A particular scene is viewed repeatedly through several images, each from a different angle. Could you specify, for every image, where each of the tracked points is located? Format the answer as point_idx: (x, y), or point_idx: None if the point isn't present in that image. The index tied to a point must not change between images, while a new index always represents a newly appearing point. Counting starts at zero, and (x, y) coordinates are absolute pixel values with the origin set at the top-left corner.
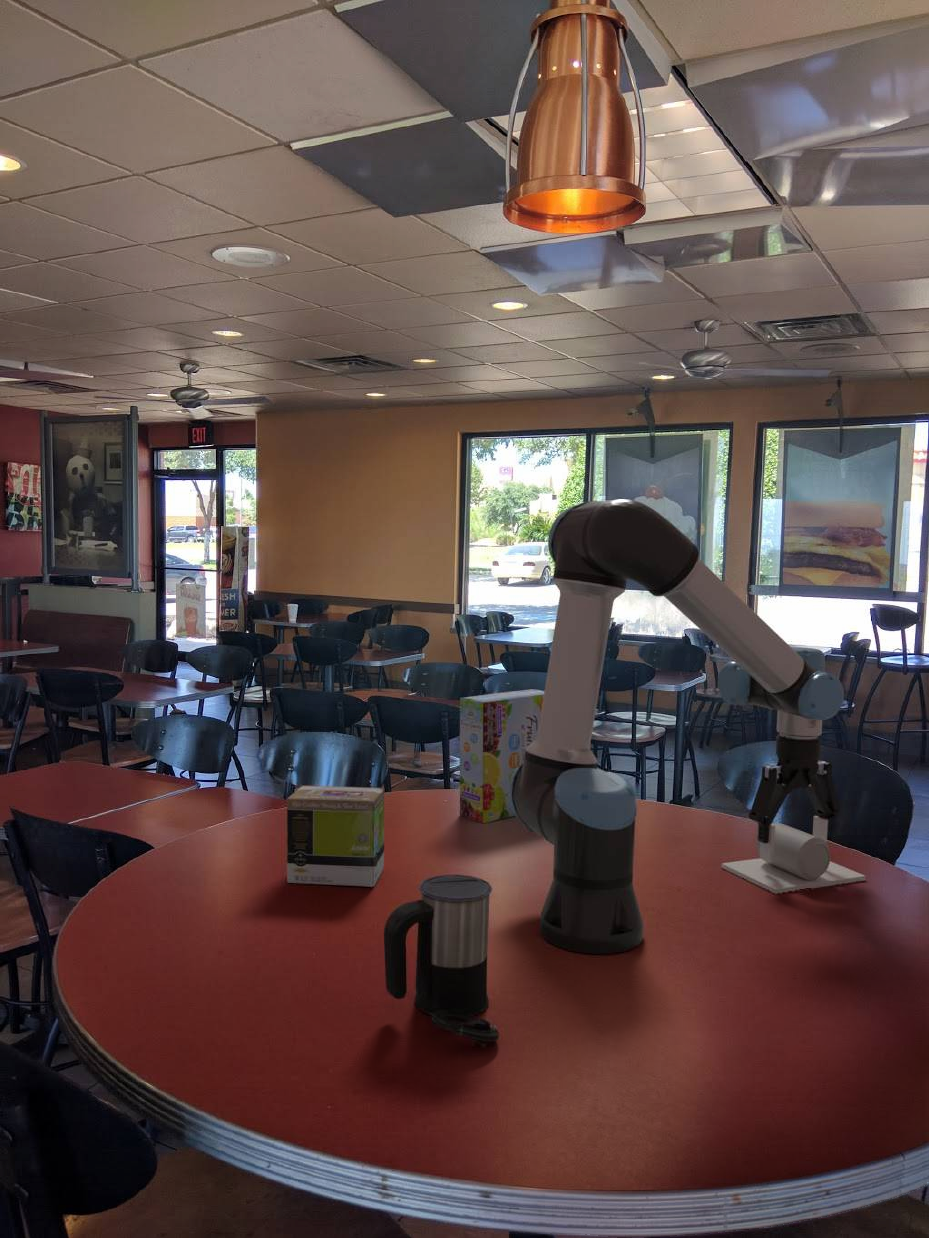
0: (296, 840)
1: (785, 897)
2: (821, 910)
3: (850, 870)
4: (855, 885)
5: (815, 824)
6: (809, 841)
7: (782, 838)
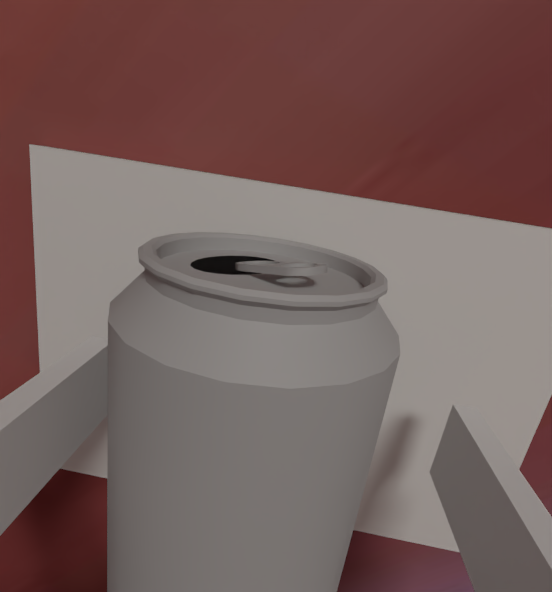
0: None
1: (68, 484)
2: (95, 583)
3: None
4: (386, 544)
5: (534, 578)
6: None
7: (112, 503)
